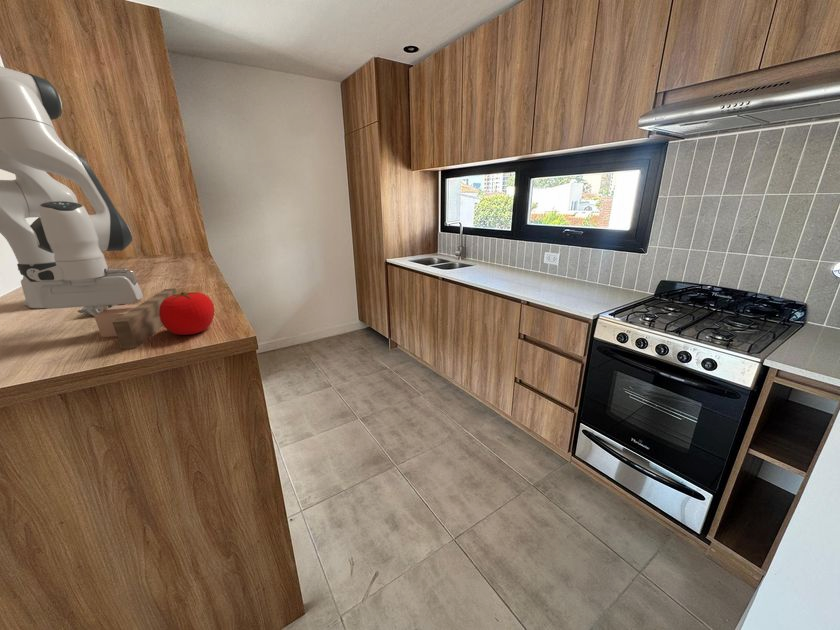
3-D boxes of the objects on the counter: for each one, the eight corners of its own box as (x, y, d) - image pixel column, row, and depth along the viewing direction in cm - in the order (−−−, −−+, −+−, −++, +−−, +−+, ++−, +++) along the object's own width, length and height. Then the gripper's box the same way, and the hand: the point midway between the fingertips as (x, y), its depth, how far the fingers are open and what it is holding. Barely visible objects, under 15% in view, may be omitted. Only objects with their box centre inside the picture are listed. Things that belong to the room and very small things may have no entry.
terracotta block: (121, 325, 93) (114, 305, 90) (153, 323, 94) (147, 303, 92) (101, 337, 85) (93, 315, 83) (136, 334, 87) (129, 313, 85)
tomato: (160, 344, 81) (147, 301, 77) (171, 326, 92) (160, 288, 88) (215, 336, 86) (206, 295, 82) (220, 320, 97) (211, 283, 93)
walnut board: (170, 310, 105) (164, 289, 103) (181, 309, 106) (175, 288, 104) (121, 349, 78) (112, 322, 76) (136, 347, 79) (127, 320, 77)
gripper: (139, 265, 88) (153, 313, 93) (43, 269, 83) (63, 320, 88) (126, 270, 82) (142, 321, 87) (23, 274, 77) (45, 329, 82)
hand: (102, 321), depth 87 cm, fingers closed
